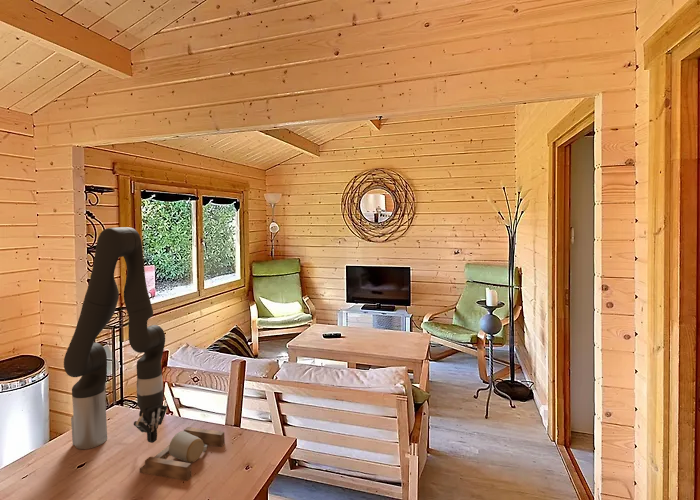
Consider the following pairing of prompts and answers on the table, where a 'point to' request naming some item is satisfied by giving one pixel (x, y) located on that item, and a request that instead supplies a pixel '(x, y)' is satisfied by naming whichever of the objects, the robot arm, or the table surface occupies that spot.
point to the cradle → (177, 468)
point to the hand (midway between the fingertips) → (152, 441)
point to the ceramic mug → (186, 447)
